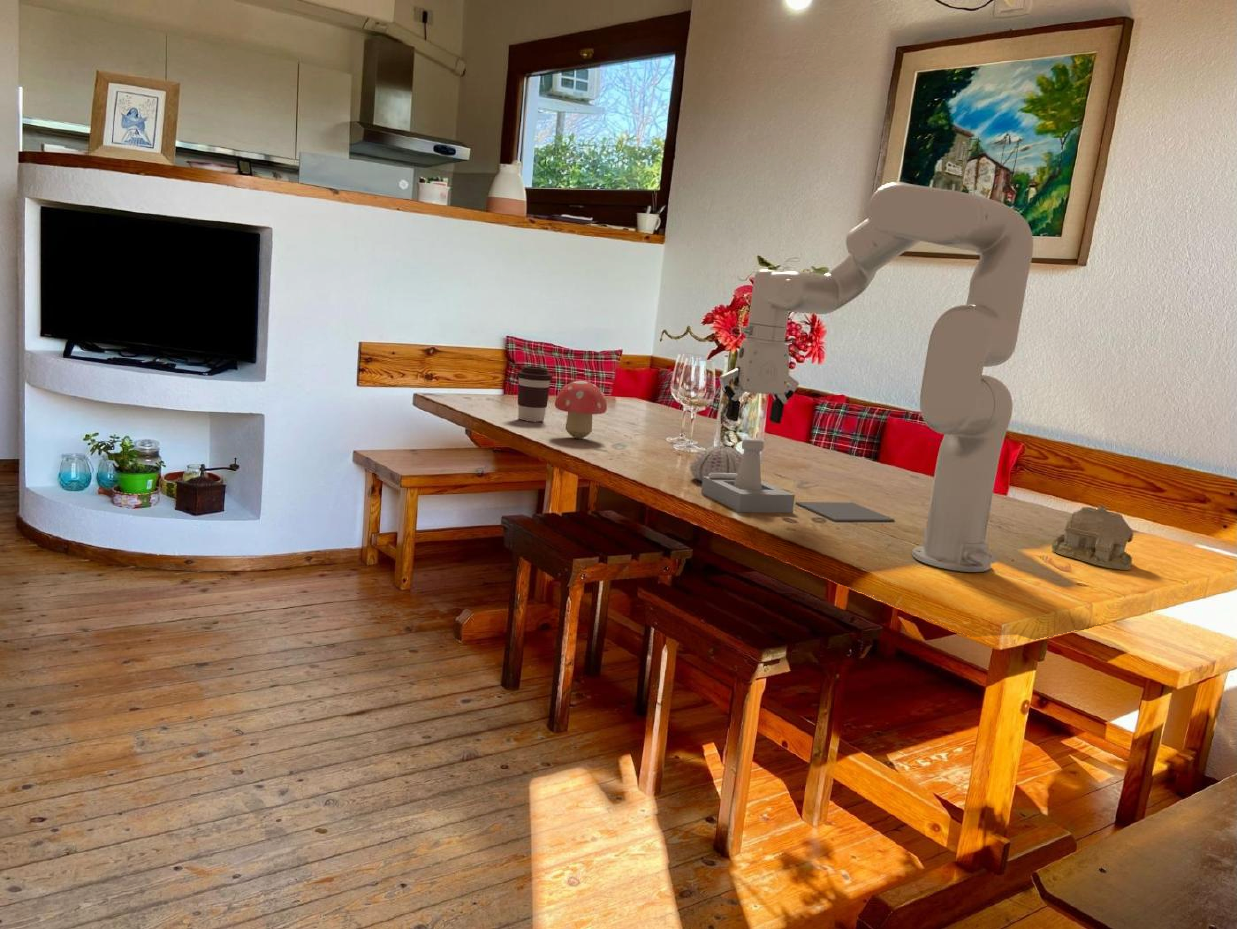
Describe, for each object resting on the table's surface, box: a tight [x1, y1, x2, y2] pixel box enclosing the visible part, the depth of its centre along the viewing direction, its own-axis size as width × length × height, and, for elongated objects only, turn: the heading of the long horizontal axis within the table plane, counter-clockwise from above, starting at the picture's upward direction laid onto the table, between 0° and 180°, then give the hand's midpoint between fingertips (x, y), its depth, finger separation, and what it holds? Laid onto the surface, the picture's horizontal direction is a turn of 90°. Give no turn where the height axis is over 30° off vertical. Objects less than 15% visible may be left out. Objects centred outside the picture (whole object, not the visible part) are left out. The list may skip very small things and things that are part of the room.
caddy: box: [700, 473, 796, 513], centre depth 200 cm, size 16×12×5 cm
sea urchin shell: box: [689, 445, 743, 482], centre depth 219 cm, size 13×14×8 cm
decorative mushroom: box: [554, 380, 608, 440], centre depth 258 cm, size 13×13×15 cm
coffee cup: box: [516, 365, 553, 422], centre depth 281 cm, size 10×10×15 cm
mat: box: [794, 501, 896, 522], centre depth 200 cm, size 14×14×1 cm
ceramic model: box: [1051, 505, 1134, 571], centre depth 181 cm, size 14×11×10 cm
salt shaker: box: [734, 437, 765, 490], centre depth 200 cm, size 6×6×13 cm
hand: (753, 421), depth 198 cm, fingers open, 9 cm apart
